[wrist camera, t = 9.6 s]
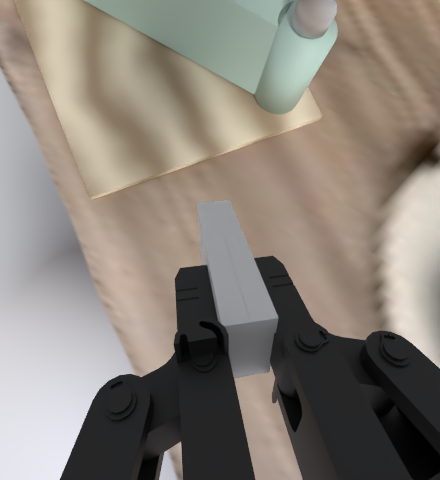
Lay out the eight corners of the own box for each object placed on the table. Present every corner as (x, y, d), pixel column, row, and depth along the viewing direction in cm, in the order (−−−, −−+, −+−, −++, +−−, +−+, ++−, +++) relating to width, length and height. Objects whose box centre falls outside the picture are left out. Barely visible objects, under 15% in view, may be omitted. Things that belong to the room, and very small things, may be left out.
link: (305, 86, 30) (346, 19, 23) (287, 122, 29) (323, 64, 22) (74, -42, 30) (34, -159, 22) (47, -10, 29) (-5, -120, 21)
